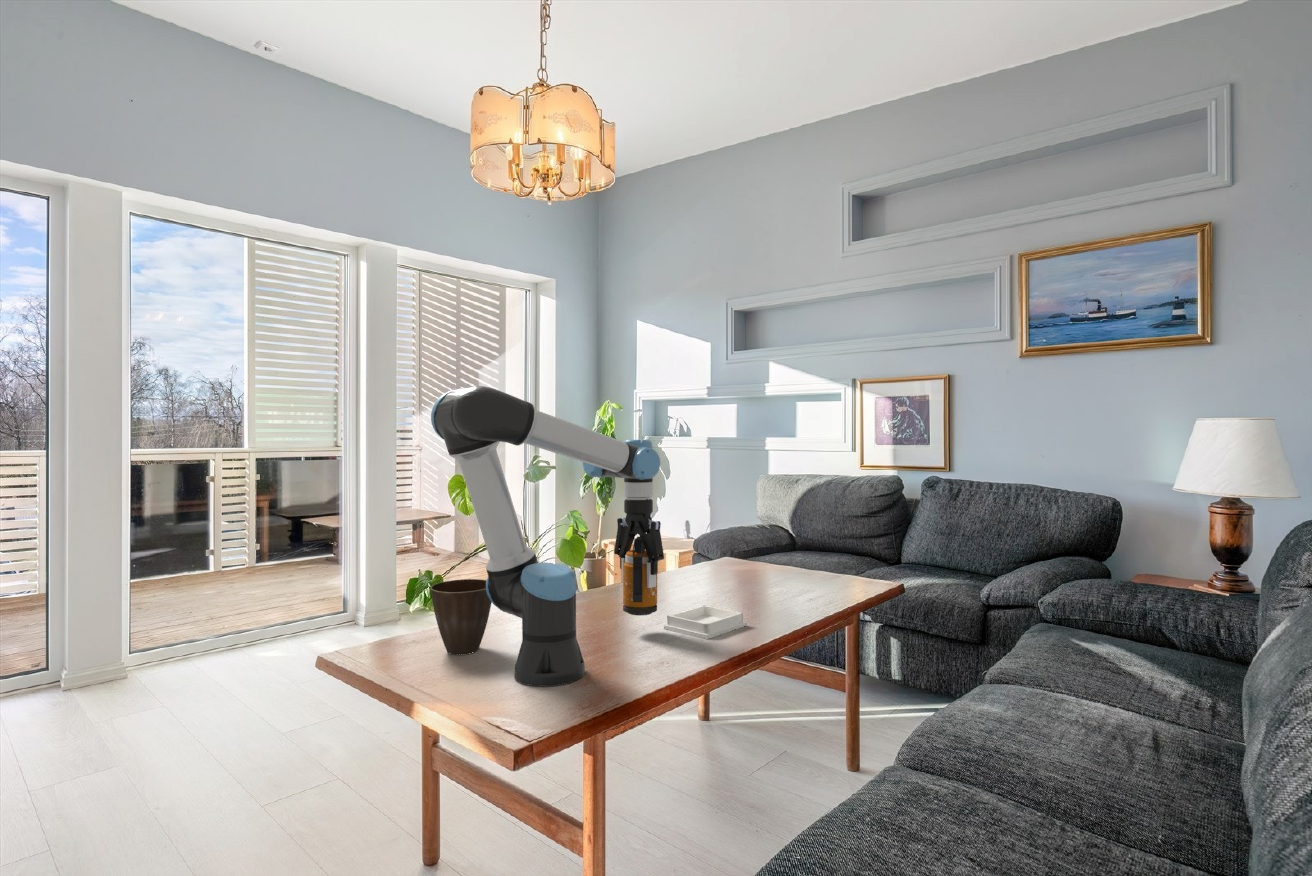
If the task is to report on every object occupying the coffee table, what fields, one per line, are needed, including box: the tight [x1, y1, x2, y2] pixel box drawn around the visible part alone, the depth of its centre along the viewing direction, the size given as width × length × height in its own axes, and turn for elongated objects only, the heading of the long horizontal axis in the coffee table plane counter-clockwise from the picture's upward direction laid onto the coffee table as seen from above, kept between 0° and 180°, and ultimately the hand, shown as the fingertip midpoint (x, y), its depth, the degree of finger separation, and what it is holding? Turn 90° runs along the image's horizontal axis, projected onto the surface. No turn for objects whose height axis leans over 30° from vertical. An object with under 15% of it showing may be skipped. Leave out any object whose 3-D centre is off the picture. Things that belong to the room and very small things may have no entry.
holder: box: [663, 604, 748, 640], centre depth 191 cm, size 17×15×4 cm
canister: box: [622, 535, 658, 616], centre depth 185 cm, size 9×11×20 cm
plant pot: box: [430, 578, 493, 656], centre depth 173 cm, size 15×15×16 cm
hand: (638, 584), depth 186 cm, fingers closed on canister, 9 cm apart
